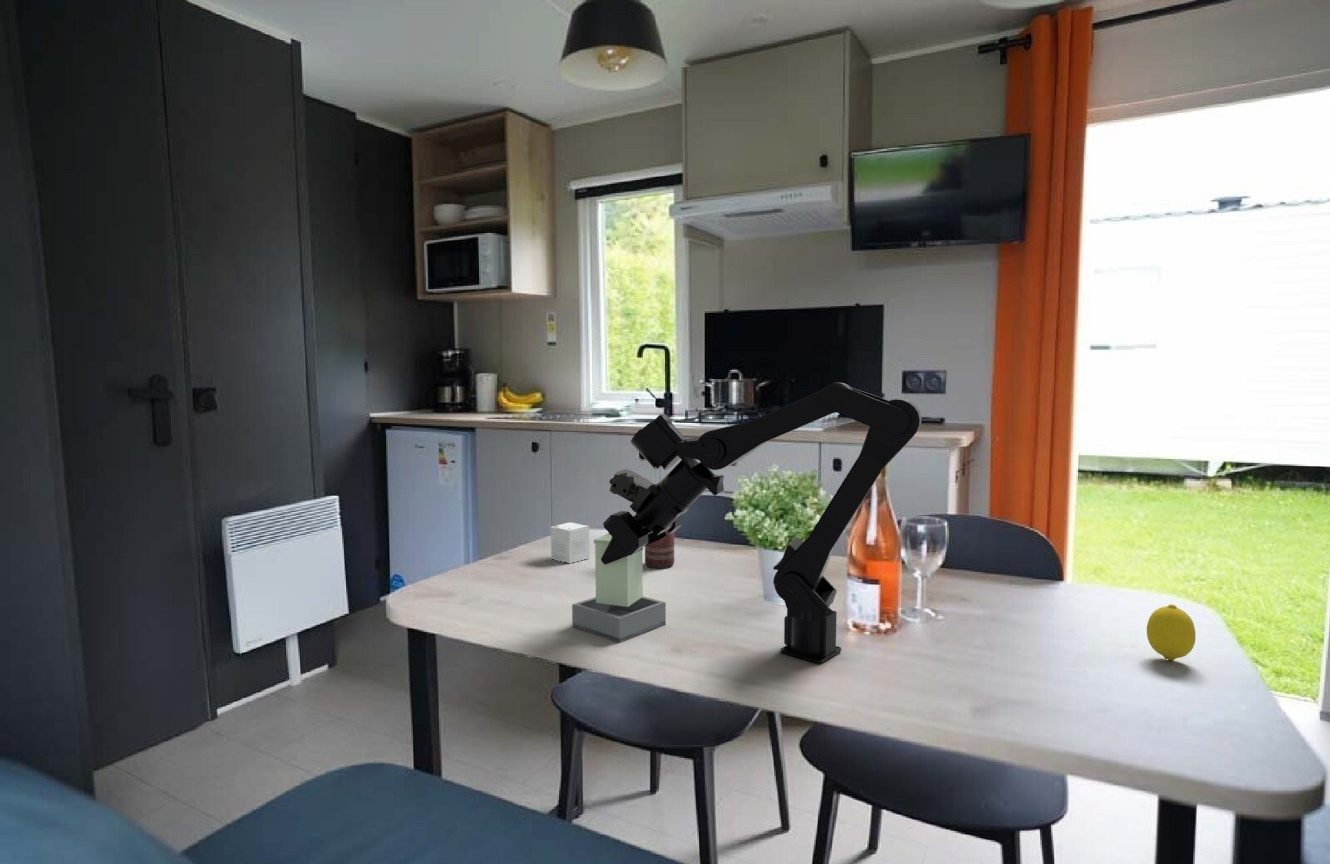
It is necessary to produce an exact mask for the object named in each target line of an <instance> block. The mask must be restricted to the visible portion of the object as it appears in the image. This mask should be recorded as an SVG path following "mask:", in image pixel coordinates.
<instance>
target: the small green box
mask: <svg viewBox="0 0 1330 864" xmlns="http://www.w3.org/2000/svg"><path fill="white" fill-rule="evenodd" d="M611 538H612V536H611V535H610V534H609V532H607V533H606V534H604V535H601V536H599V537H596V538H594V539H593V544H594V551H595V553H594V555H595V556H594V558H595V563H594V564H595V569H594V570H595V597H596V603H602V604H609V605H617V606H625V607H628V606H630V605H631V604H633V603H634V602H636V601H637V600H639V599H640V598H642V597H643V596H644V593H643V590H644V585H643V584H644V583H643V582H644V580H643V579H644V577H643V571H644V570H643V550H641V551H639V552H637V553H635V554H633V555H631V556H630V555H629V556H627V557H624V558H621V559H619V560H616V561H614V562H611V563H608V564H606V565H605V564H604V563H603V562H602V561H601V558H602V556H603V554H604V552H605V550H606V548H607V546H608V545H609V543H610V541H611Z"/></svg>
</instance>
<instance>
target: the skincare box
mask: <svg viewBox="0 0 1330 864" xmlns="http://www.w3.org/2000/svg"><path fill="white" fill-rule="evenodd" d="M550 550H551V551H550V553H551V560H552V559H554V560H553V561H556V560H557V562H560V561H561V563H564V562H567V563H566V564H568V563H571V562H575V563H578V562H577V561H579V562H582V561H581V560H583V561H585V560H584V559H587V560H588V558H589V559H590V555H591V554H590V526H589V525H586V524H585V525H584V524H580V523H575V522H565V523H562V524H561V523H560V524H557V525H552V526H550ZM571 564H572V563H571Z"/></svg>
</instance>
